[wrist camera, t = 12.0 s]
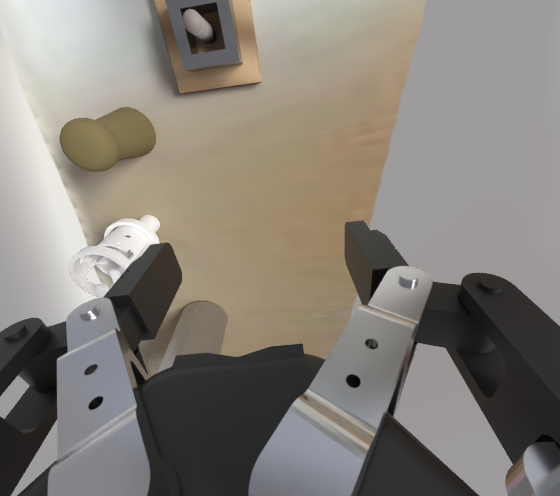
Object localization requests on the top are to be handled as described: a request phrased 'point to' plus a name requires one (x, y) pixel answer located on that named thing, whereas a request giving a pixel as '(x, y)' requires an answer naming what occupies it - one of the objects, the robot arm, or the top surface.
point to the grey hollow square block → (192, 60)
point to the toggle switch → (213, 48)
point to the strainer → (114, 252)
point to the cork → (107, 139)
